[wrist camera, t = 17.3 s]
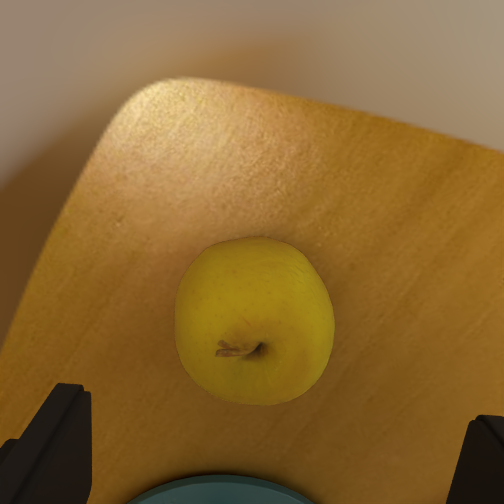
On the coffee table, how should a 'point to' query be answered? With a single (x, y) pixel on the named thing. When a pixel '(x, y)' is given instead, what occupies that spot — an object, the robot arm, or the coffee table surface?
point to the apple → (253, 321)
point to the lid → (220, 492)
